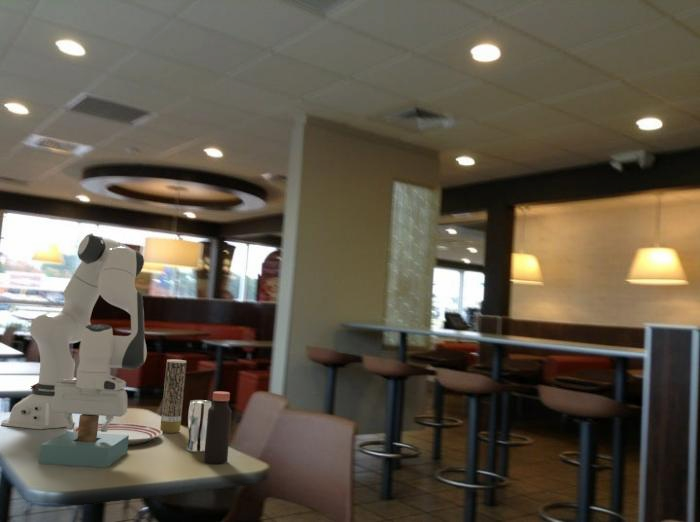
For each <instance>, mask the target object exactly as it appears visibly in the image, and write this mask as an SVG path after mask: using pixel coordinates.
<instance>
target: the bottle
mask: <svg viewBox="0 0 700 522" xmlns="http://www.w3.org/2000/svg"><path fill="white" fill-rule="evenodd" d="M230 396H231V393H230V392H229V391H222V390H220V391H218V390H217V391H213V392H212V402H213V403H212V404H211V407H210V408H209V410H208V418H207V430H206V441H205V451H204V455H203V461H204V462H205V463H206V464H211V465H222V464H223V465H224V464H226V463H227V462H228V457H229V456H228V455H229V446H230V445H229V443H230V434H231V422H232V421H231V420H232V411H233V410H232V409H231V407H230V405H229V402H230Z"/></svg>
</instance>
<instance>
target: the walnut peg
mask: <svg viewBox="0 0 700 522" xmlns="http://www.w3.org/2000/svg"><path fill="white" fill-rule="evenodd" d="M99 418H100V415H87V414H79V420H78V426H79V428H78V437H77V442H96V440H97V430H98V423H99Z"/></svg>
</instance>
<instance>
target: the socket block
mask: <svg viewBox="0 0 700 522" xmlns="http://www.w3.org/2000/svg"><path fill="white" fill-rule="evenodd" d="M77 437H78V432H73V431H66V432H64V433H62V434H59V435H57V436H55V437H53V438H52V439H49V440H47V441H45V442H43V443H41V444H40V449H39V457H38V464H41V465H60V466H72V467H73V466H76V467H90V466H91V468H109V467H110V466H112V464H113V463H115V462H116V461H118V460H119V459H120V458H122V457H123V456H124V455H125V454H127V453H128V449H129V448H128V447H129V445H128V439H129V435H116V434H100V433H97V440H96V442H77Z"/></svg>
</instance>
